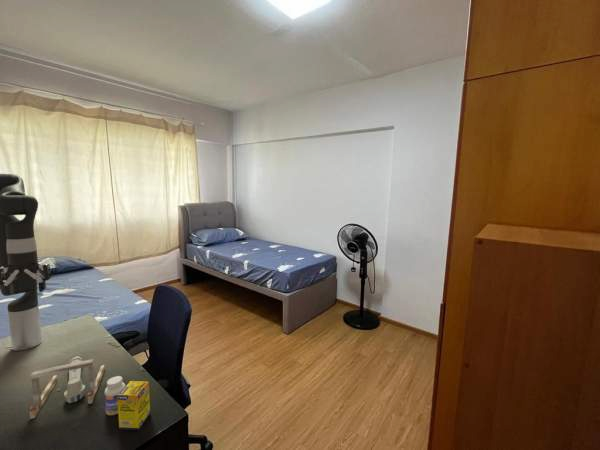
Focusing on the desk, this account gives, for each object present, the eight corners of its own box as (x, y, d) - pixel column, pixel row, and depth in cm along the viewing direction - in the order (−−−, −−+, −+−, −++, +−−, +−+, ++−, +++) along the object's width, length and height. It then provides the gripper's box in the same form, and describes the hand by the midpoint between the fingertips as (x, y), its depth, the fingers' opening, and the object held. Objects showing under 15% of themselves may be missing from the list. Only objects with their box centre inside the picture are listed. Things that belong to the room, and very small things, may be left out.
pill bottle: (104, 418, 81) (102, 388, 79) (107, 405, 85) (105, 377, 84) (125, 411, 83) (123, 382, 82) (127, 400, 88) (125, 372, 87)
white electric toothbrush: (83, 353, 107) (84, 378, 88) (84, 369, 107) (85, 398, 88) (66, 358, 104) (62, 385, 84) (67, 375, 104) (64, 406, 84)
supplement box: (139, 430, 77) (137, 395, 75) (118, 430, 77) (116, 395, 75) (151, 413, 82) (149, 380, 81) (131, 413, 83) (129, 380, 81)
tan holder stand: (53, 381, 96) (50, 349, 95) (105, 369, 103) (103, 339, 101) (29, 419, 80) (24, 381, 78) (93, 402, 86) (90, 367, 85)
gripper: (51, 247, 104) (55, 287, 106) (1, 249, 98) (5, 292, 100) (43, 250, 97) (47, 293, 99) (-12, 254, 91) (-7, 299, 93)
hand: (26, 293), depth 99 cm, fingers open, 8 cm apart
